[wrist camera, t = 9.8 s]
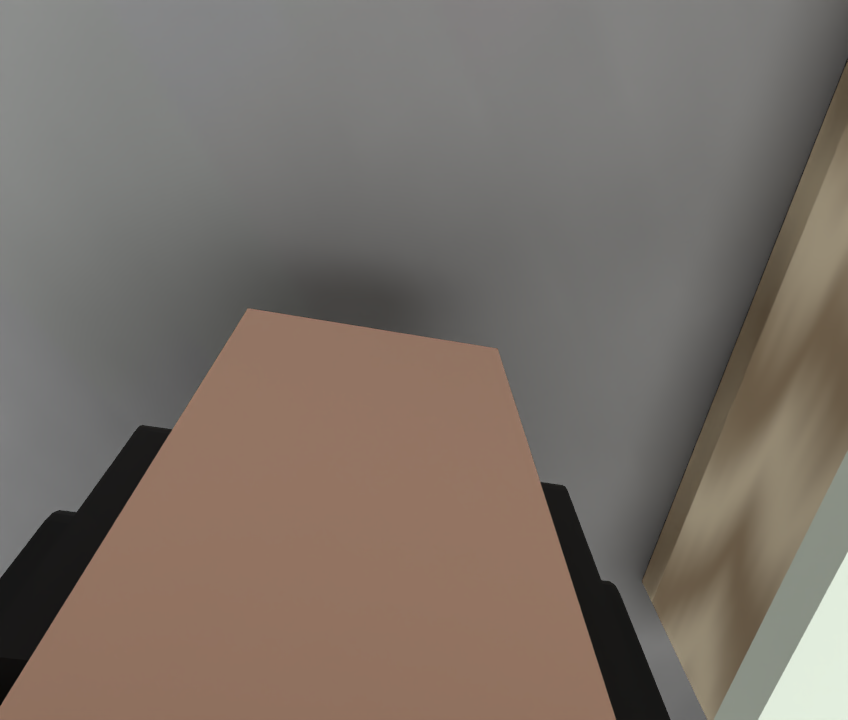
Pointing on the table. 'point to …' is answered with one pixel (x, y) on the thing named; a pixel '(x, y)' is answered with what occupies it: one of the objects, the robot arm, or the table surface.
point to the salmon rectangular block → (328, 551)
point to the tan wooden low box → (764, 435)
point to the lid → (803, 629)
